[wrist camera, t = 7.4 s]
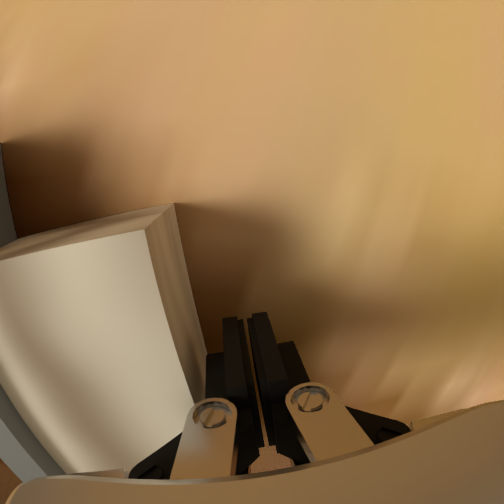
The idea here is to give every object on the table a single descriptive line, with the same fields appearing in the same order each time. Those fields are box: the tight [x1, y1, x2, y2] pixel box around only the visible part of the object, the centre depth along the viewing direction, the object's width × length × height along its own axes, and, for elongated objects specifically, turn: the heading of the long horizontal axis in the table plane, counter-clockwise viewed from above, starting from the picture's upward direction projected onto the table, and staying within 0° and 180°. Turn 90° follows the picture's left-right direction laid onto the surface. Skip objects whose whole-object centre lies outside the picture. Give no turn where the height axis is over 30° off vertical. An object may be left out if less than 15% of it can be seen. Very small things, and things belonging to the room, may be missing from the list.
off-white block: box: [0, 203, 207, 474], centre depth 11 cm, size 8×12×5 cm, turn 8°
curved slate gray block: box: [0, 143, 67, 482], centre depth 10 cm, size 3×22×6 cm, turn 8°
